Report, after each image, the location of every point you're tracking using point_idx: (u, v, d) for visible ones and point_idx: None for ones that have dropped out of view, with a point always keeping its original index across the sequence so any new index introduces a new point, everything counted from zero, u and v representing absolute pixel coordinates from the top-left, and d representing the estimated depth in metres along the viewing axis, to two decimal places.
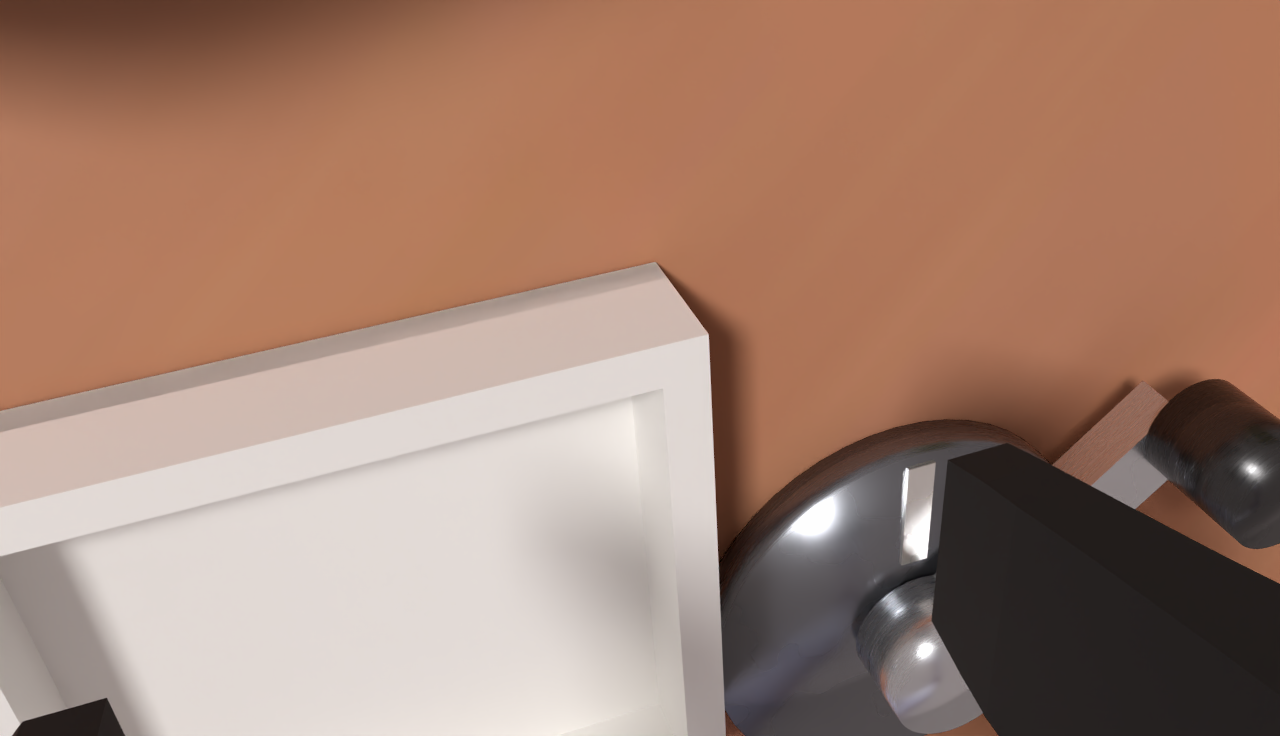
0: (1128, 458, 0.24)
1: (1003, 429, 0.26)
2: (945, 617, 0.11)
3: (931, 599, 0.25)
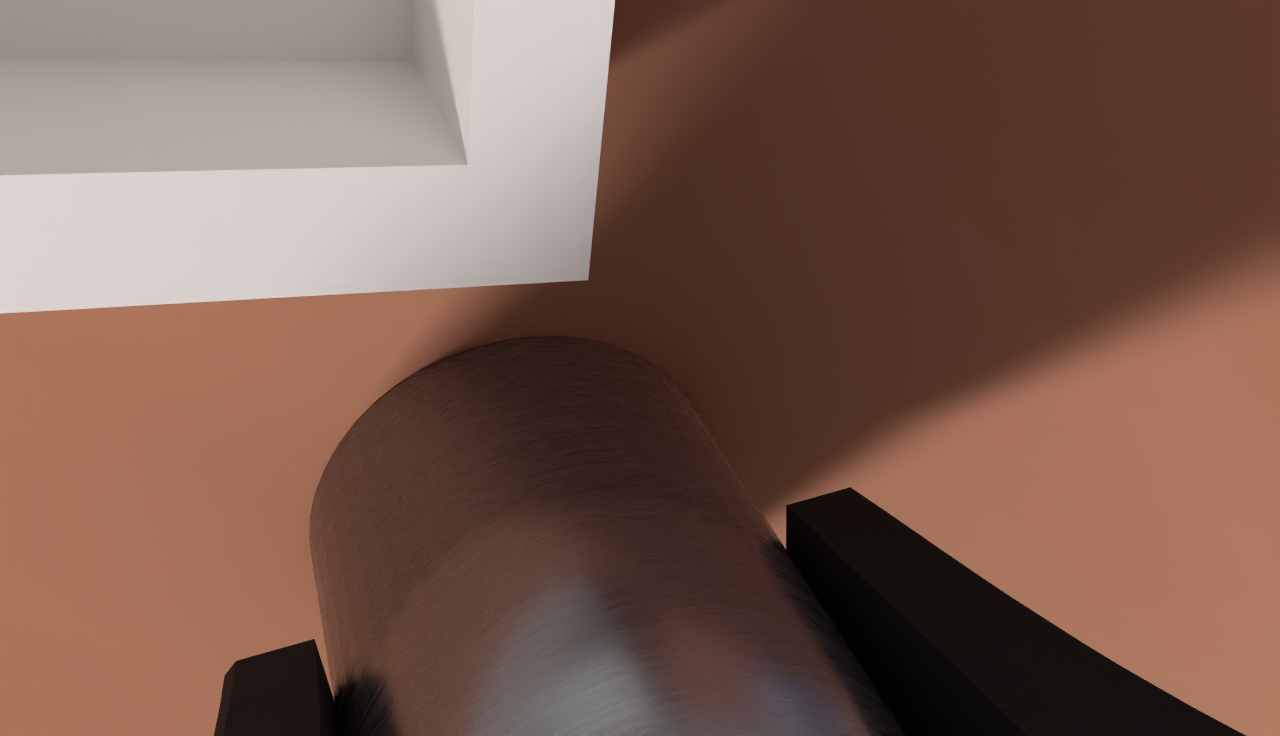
0: None
1: None
2: None
3: None
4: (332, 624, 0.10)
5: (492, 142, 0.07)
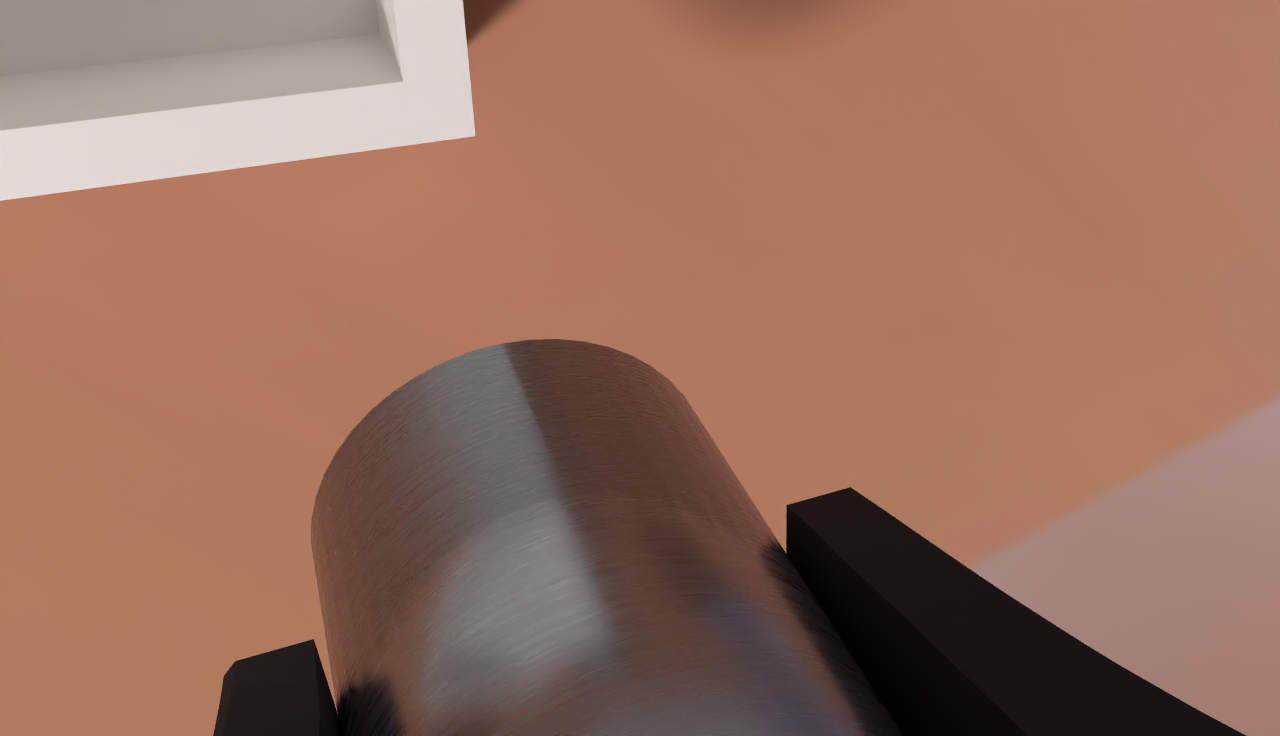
0: None
1: None
2: None
3: None
4: (333, 627, 0.10)
5: (413, 68, 0.14)
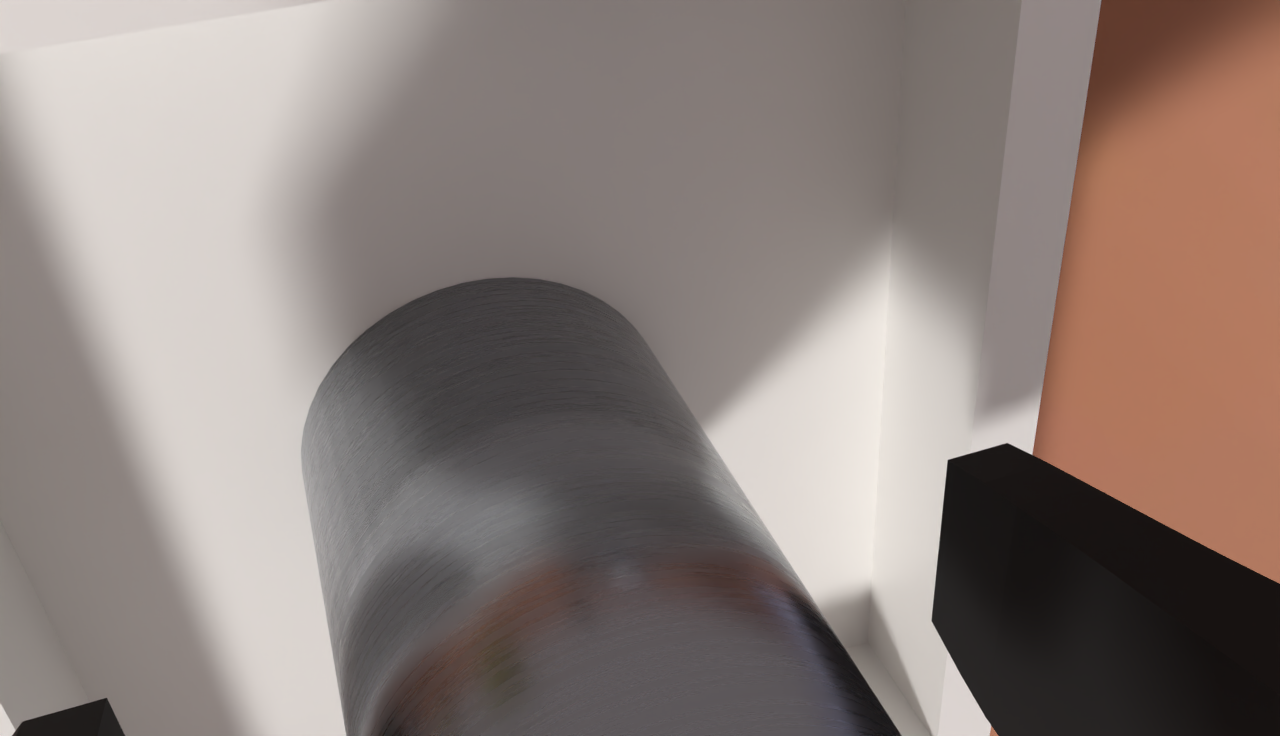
0: None
1: None
2: (945, 617, 0.11)
3: None
4: (319, 537, 0.11)
5: (947, 734, 0.15)
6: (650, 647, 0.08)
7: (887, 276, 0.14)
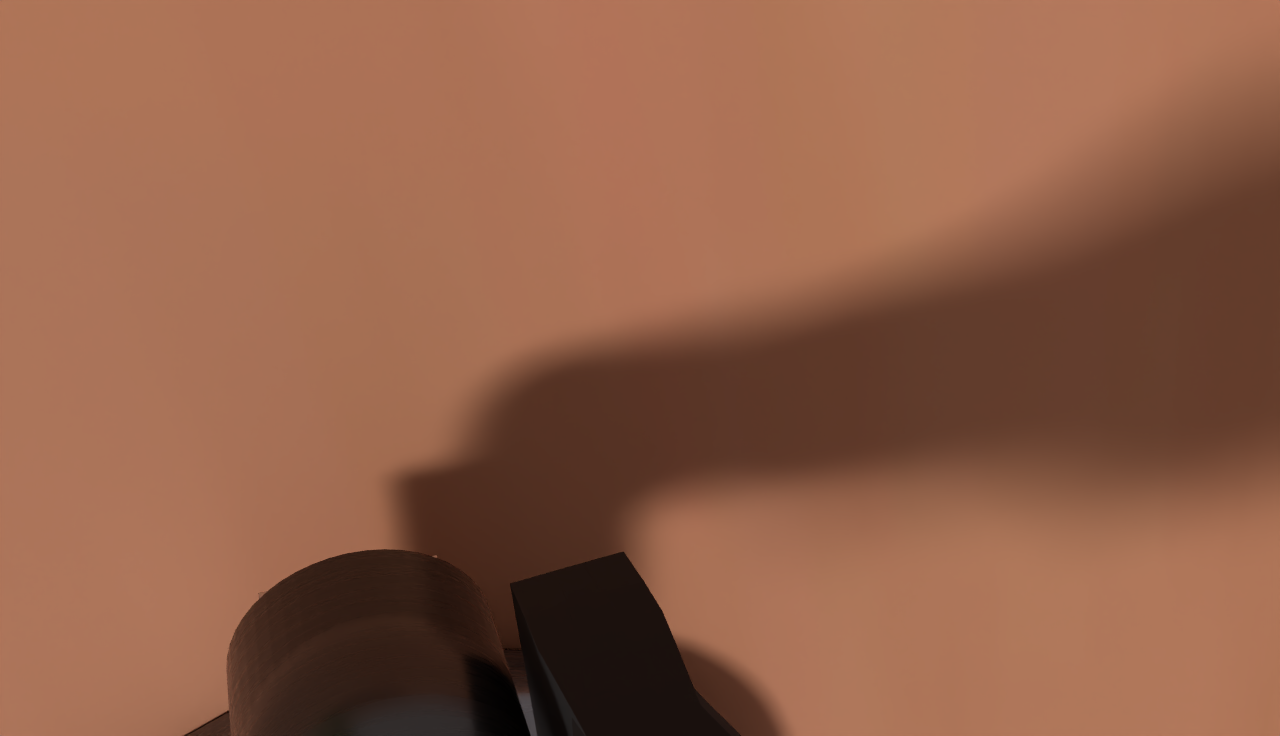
0: None
1: None
2: None
3: None
4: None
5: None
6: None
7: None
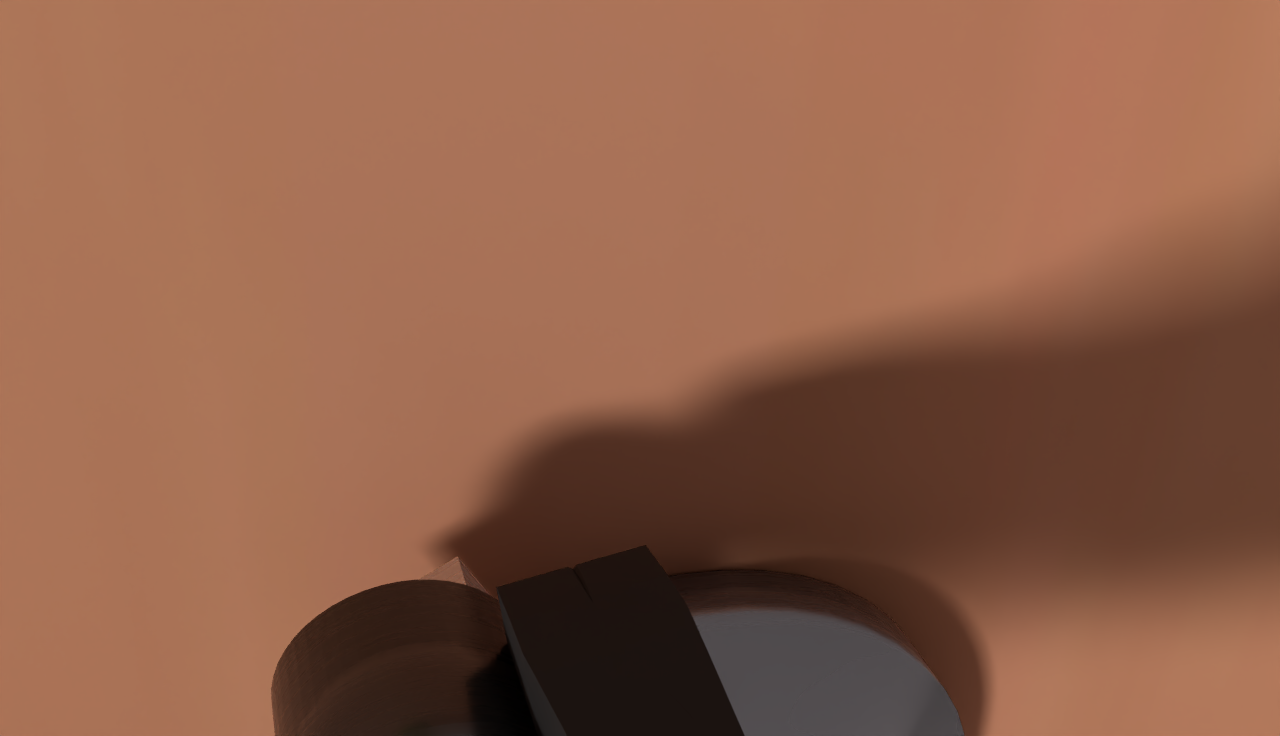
0: None
1: None
2: None
3: None
4: None
5: None
6: None
7: None
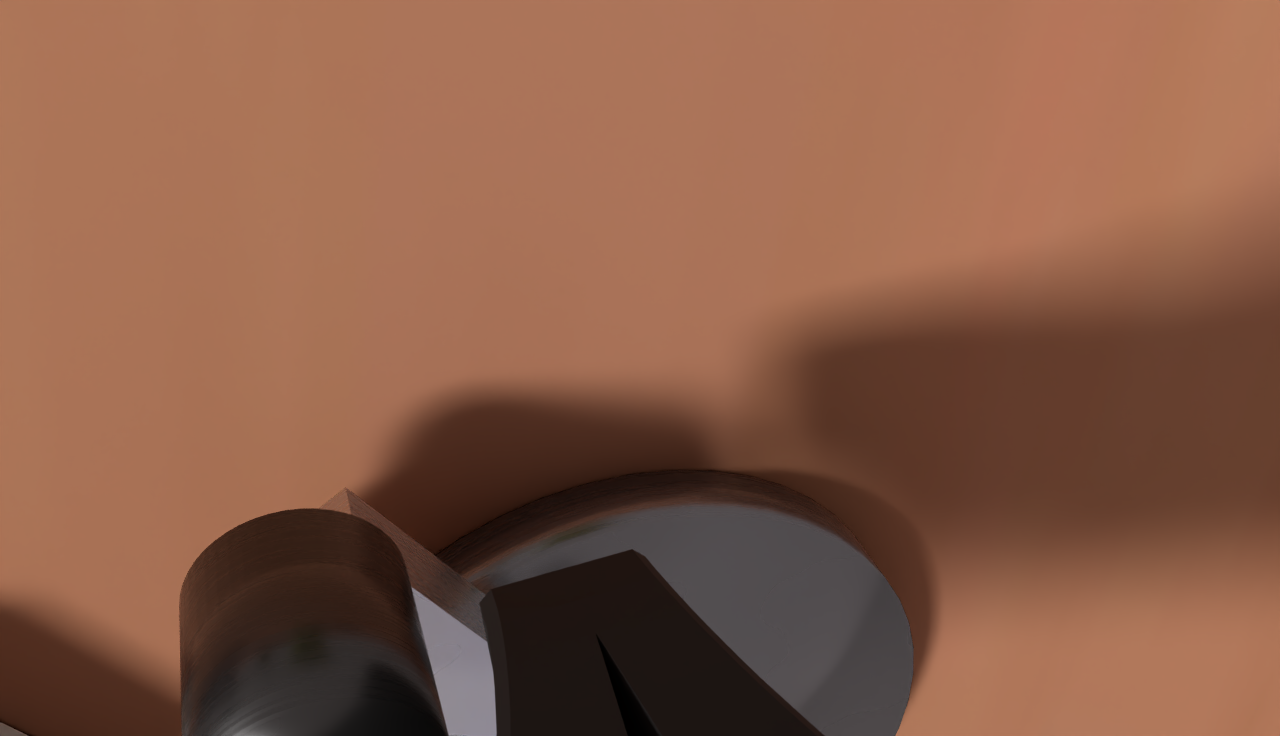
0: None
1: (618, 478, 0.15)
2: None
3: None
4: None
5: None
6: None
7: None
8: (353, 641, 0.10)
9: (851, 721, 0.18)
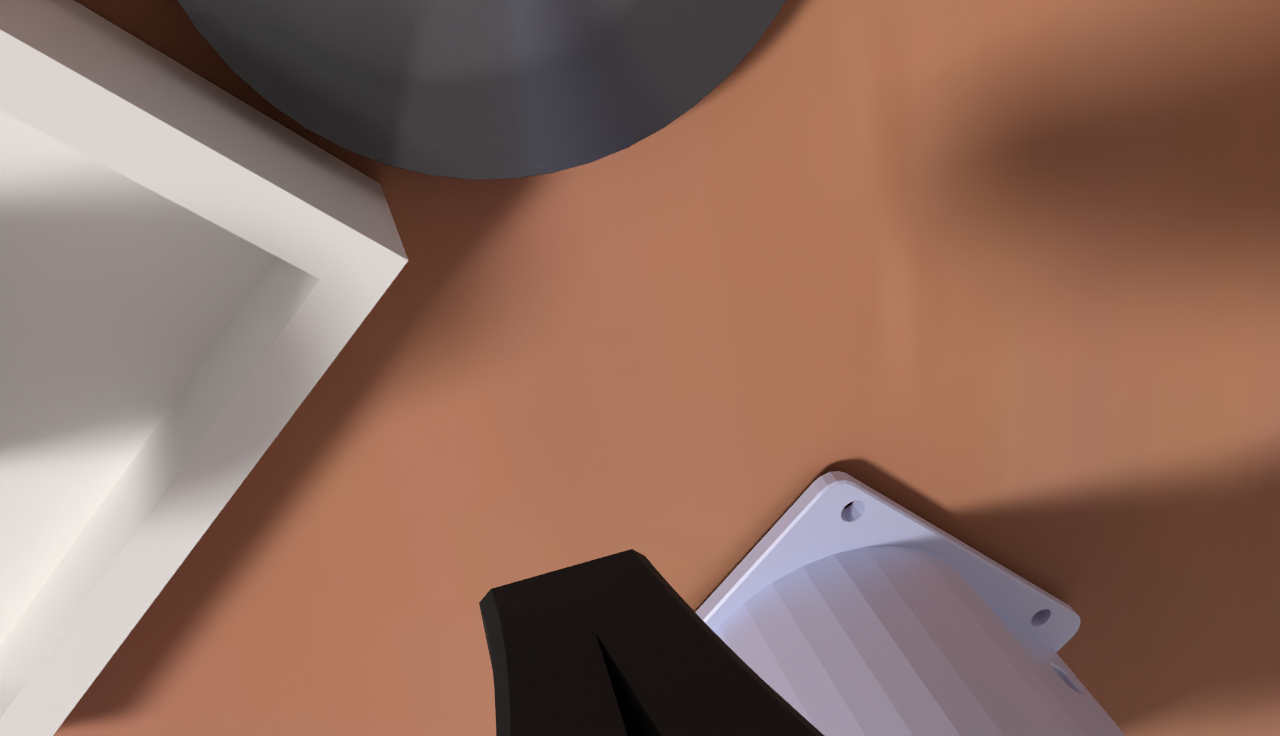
0: None
1: None
2: None
3: None
4: None
5: None
6: None
7: (134, 455, 0.18)
8: None
9: None
